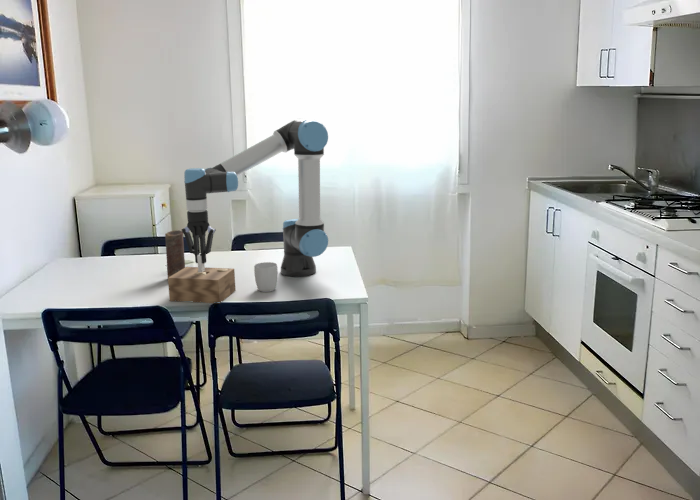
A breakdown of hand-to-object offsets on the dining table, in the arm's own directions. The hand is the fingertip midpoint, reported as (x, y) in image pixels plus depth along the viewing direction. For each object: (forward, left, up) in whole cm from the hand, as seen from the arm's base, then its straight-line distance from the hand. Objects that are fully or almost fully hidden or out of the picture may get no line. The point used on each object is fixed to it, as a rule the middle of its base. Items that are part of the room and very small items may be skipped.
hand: (201, 271), depth 256 cm
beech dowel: (0, 0, -10) cm, 10 cm away
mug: (-21, -13, -10) cm, 27 cm away
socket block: (0, 0, -10) cm, 10 cm away
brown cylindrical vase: (+21, -21, -10) cm, 31 cm away
